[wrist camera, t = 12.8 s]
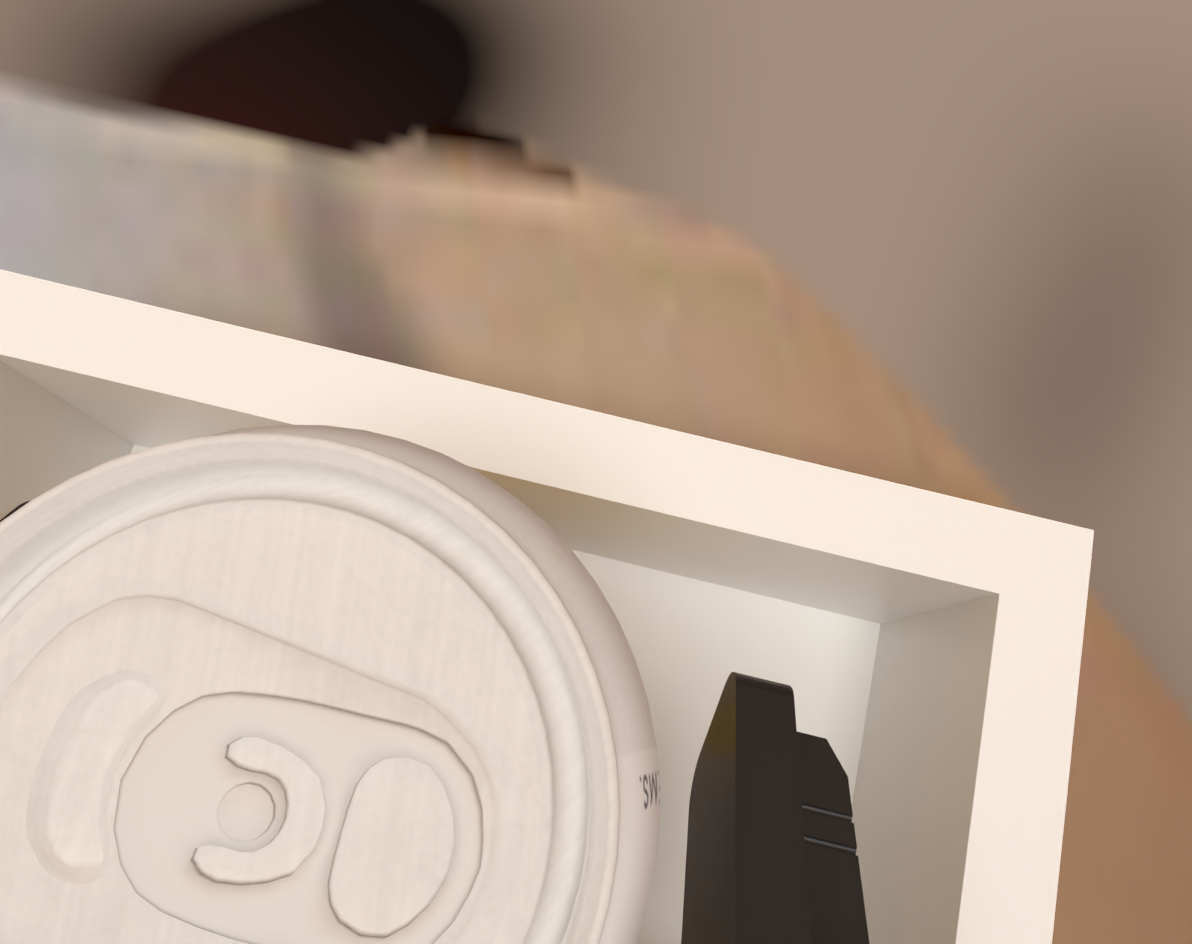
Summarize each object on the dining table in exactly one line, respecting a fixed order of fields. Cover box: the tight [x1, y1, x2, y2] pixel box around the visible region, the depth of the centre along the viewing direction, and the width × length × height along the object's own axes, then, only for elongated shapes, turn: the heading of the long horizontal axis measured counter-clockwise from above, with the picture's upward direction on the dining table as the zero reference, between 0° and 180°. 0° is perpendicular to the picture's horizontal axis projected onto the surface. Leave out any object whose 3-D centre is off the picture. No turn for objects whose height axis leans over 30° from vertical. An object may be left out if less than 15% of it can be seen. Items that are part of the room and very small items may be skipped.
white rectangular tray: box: [0, 270, 1094, 944], centre depth 18 cm, size 21×12×7 cm, turn 77°
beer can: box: [0, 425, 660, 944], centre depth 14 cm, size 6×6×15 cm
